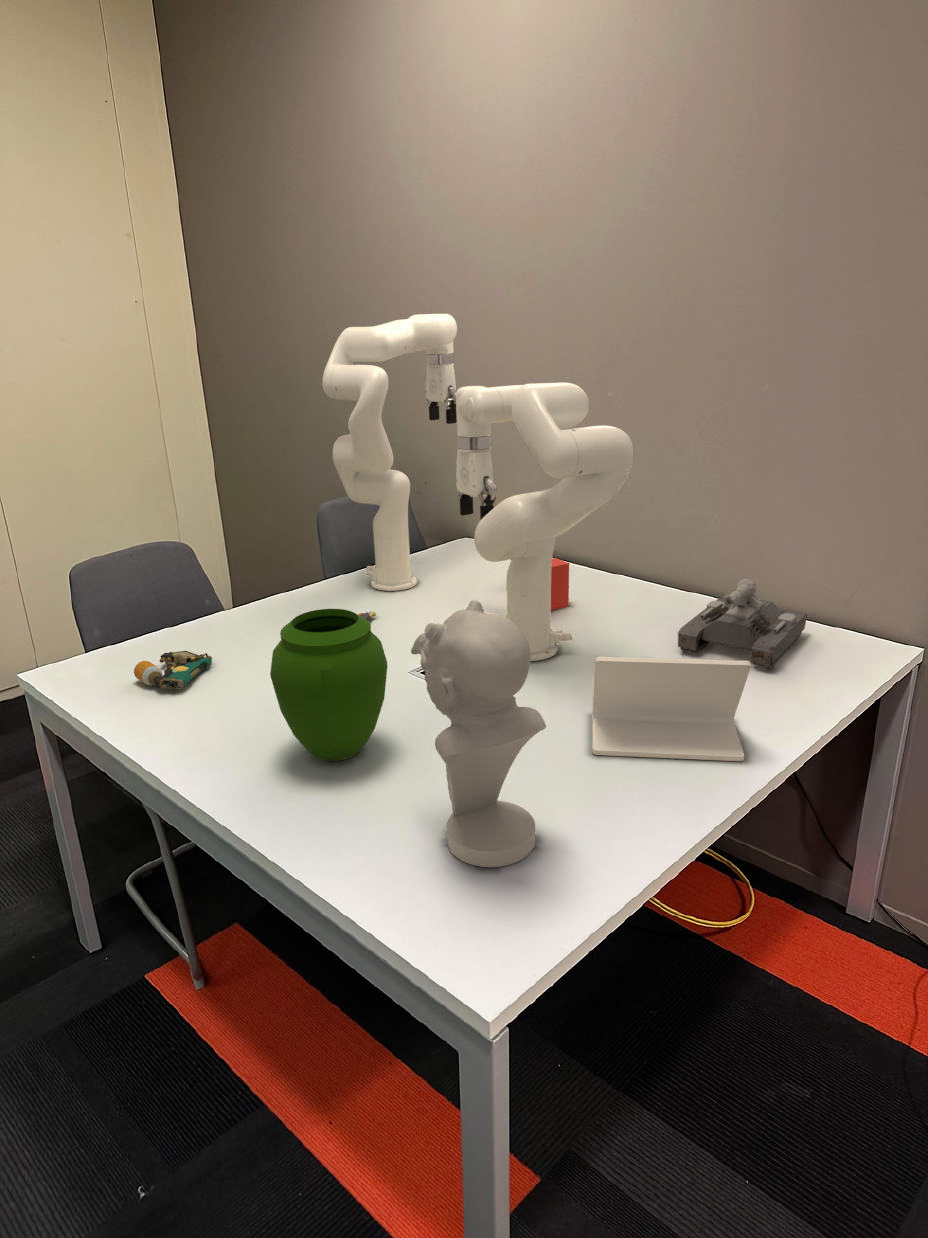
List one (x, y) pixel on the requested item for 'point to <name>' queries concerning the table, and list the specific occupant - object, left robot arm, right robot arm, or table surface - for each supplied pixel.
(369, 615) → the toy gun
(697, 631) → the toy
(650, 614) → the table surface
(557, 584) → the block
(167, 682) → the spray gun
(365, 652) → the vase
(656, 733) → the tablet stand
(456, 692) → the bust sculpture
